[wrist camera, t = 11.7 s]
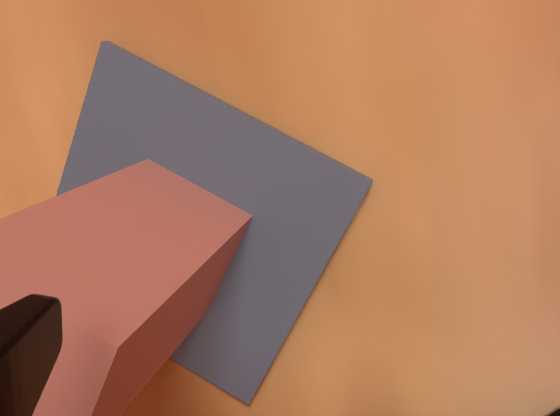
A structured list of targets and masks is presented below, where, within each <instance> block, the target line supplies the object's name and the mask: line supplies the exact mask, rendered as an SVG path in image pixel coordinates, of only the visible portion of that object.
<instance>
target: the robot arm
mask: <svg viewBox="0 0 560 416" xmlns="http://www.w3.org/2000/svg"><path fill="white" fill-rule="evenodd" d="M62 341H63V334H62V307H61V302H60V300H59V299H58V298H56V297H52V296H47V295H41V294H30V295H28V296H25V297H23V298H21V299H19V300H18V301H16V302H14V303H12V304H10V305H8V306H6V307H4V308H2V309H0V416H32V415H33V413H34V410H35V408H36V406H37V403H38V401H39V399H40V397H41V394H42V392H43V390H44V388H45V385H46V383H47V381H48V379H49V376H50V374H51V372H52V370H53V367H54V365H55V363H56V360H57V358H58V356H59V353H60V350H61V347H62ZM550 416H560V409H559V410H558V411H556V412H555V413H553V414H552V415H550Z"/></svg>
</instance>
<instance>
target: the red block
mask: <svg viewBox="0 0 560 416" xmlns="http://www.w3.org/2000/svg"><path fill="white" fill-rule="evenodd" d="M252 216H253V215H251V214H249V213H247V212H245V211H243V210H242V209H240V208H238V207H236V206H234V205H232V204H230V203H229V202H227V201H225V200H223V199H221V198H219V197H218V196H216V195H214V194H212V193H210V192H208V191H206V190H205V189H203V188H201V187H199V186H197V185H195V184H194V183H192V182H190V181H188V180H186V179H184V178H183V177H181V176H179V175H177V174H175V173H173V172H171V171H170V170H168V169H166V168H164V167H162V166H160V165H159V164H157V163H155V162H153V161H151V160H149V159H146V160H143V161H141V162H139V163H136V164H134V165H131V166H129V167H126V168H124V169H122V170H119V171H117V172H114V173H112V174H109V175H107V176H104V177H102V178H100V179H97V180H95V181H92V182H90V183H87V184H85V185H83V186H80V187H78V188H75V189H73V190H70V191H68V192H65V193H63V194H61V195H58V196H56V197H53V198H51V199H48V200H46V201H44V202H41V203H39V204H36V205H34V206H31V207H29V208H26V209H24V210H22V211H19V212H17V213H14V214H12V215H9V216H7V217H4V218H2V219H0V309H2V308H4V307H6V306H8V305H10V304H12V303H14V302H16V301H18V300H19V299H21V298H23V297H25V296H28V295H30V294H41V295H47V296H52V297H56V298H58V299H59V300H60V302H61V307H62V334H63V341H62V347H61V350H60V353H59V356H58V358H57V360H56V363H55V365H54V367H53V370H52V372H51V374H50V376H49V379H48V381H47V383H46V385H45V388H44V390H43V392H42V394H41V397H40V399H39V401H38V403H37V406H36V408H35V410H34V413H33V415H32V416H122V414H123V413H124V412H125V411H126V410H127V408H128V407H129V406H130V405H131V403H132V402H133V401H134V400H135V399H136V397H137V396H138V395H139V394H140V393H141V391H142V390H143V389H144V388H145V386H146V385H147V384H148V383H149V382H150V380H151V379H152V378H153V377H154V376H155V374H156V373H157V372H158V371H159V370H160V368H161V367H162V366H163V365H164V363H165V362H166V361H167V360H168V359H169V357H170V356H171V355H172V354H173V353H174V351H175V350H176V349H177V348H178V346H179V345H180V344H181V343H182V342H183V340H184V339H185V338H186V337H187V336H188V334H189V333H190V332H191V331H192V330H193V328H194V327H195V326H196V325H197V323H198V322H199V321H200V320H201V319H202V317H203V316H204V315H205V314H206V313H207V311H208V310H209V309H210V306H211V304H212V302H213V300H214V298H215V296H216V294H217V291H218V289H219V287H220V285H221V283H222V281H223V278H224V276H225V274H226V272H227V270H228V268H229V266H230V263H231V261H232V259H233V257H234V255H235V253H236V251H237V248H238V246H239V244H240V242H241V240H242V238H243V236H244V233H245V231H246V229H247V227H248V225H249V223H250V220H251V218H252Z"/></svg>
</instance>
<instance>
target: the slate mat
mask: <svg viewBox="0 0 560 416" xmlns="http://www.w3.org/2000/svg"><path fill="white" fill-rule="evenodd" d="M146 159H149V160H151V161H153V162H155V163H157V164H159V165H160V166H162V167H164V168H166V169H168V170H170V171H171V172H173V173H175V174H177V175H179V176H181V177H183V178H184V179H186V180H188V181H190V182H192V183H194V184H195V185H197V186H199V187H201V188H203V189H205V190H206V191H208V192H210V193H212V194H214V195H216V196H218V197H219V198H221V199H223V200H225V201H227V202H229V203H230V204H232V205H234V206H236V207H238V208H240V209H242V210H243V211H245V212H247V213H249V214H251V215H253V216H252V218H251V220H250V223H249V225H248V227H247V229H246V231H245V233H244V236H243V238H242V240H241V242H240V244H239V246H238V248H237V251H236V253H235V255H234V257H233V259H232V261H231V263H230V266H229V268H228V270H227V272H226V274H225V276H224V278H223V281H222V283H221V285H220V287H219V289H218V291H217V294H216V296H215V298H214V300H213V302H212V304H211V306H210V309H209V310H208V311H207V313H206V314H205V315H204V316H203V317H202V319H201V320H200V321H199V322H198V323H197V325H196V326H195V327H194V328H193V330H192V331H191V332H190V333H189V334H188V336H187V337H186V338H185V339H184V340H183V342H182V343H181V344H180V345H179V346H178V348H177V349H176V350H175V351H174V353H173V354H172V355H171V356H170V357H169V359H171V360H173V361H175V362H176V363H178V364H180V365H181V366H183V367H185V368H186V369H188V370H190V371H192V372H193V373H195V374H197V375H198V376H200V377H202V378H203V379H205V380H207V381H209V382H210V383H212V384H214V385H215V386H217V387H219V388H220V389H222V390H224V391H226V392H227V393H229V394H231V395H232V396H234V397H236V398H237V399H239V400H241V401H243V402H244V403H246V404H248V405H249V403H250V401H251V399H252V397H253V396H254V394H255V392H256V390H257V388H258V387H259V385H260V383H261V381H262V379H263V378H264V376H265V374H266V372H267V370H268V369H269V367H270V365H271V363H272V361H273V360H274V358H275V356H276V354H277V352H278V351H279V349H280V347H281V345H282V343H283V342H284V340H285V338H286V336H287V335H288V333H289V331H290V329H291V327H292V326H293V324H294V322H295V320H296V318H297V317H298V315H299V313H300V311H301V309H302V308H303V306H304V304H305V302H306V300H307V299H308V297H309V295H310V293H311V291H312V290H313V288H314V286H315V284H316V282H317V281H318V279H319V277H320V275H321V273H322V272H323V270H324V268H325V266H326V265H327V263H328V261H329V259H330V257H331V256H332V254H333V252H334V250H335V248H336V247H337V245H338V243H339V241H340V239H341V238H342V236H343V234H344V232H345V230H346V229H347V227H348V225H349V223H350V221H351V220H352V218H353V216H354V214H355V212H356V211H357V209H358V207H359V205H360V203H361V202H362V200H363V198H364V196H365V194H366V193H367V191H368V189H369V187H370V186H371V184H372V181H373V180H372V179H370V178H368V177H366V176H365V175H363V174H361V173H359V172H357V171H355V170H353V169H351V168H349V167H347V166H346V165H344V164H342V163H340V162H338V161H336V160H334V159H332V158H330V157H328V156H326V155H325V154H323V153H321V152H319V151H317V150H315V149H313V148H311V147H309V146H307V145H305V144H304V143H302V142H300V141H298V140H296V139H294V138H292V137H290V136H288V135H286V134H284V133H283V132H281V131H279V130H277V129H275V128H273V127H271V126H269V125H267V124H265V123H264V122H262V121H260V120H258V119H256V118H254V117H252V116H250V115H248V114H246V113H244V112H243V111H241V110H239V109H237V108H235V107H233V106H231V105H229V104H227V103H225V102H223V101H222V100H220V99H218V98H216V97H214V96H212V95H210V94H208V93H206V92H204V91H202V90H201V89H199V88H197V87H195V86H193V85H191V84H189V83H187V82H185V81H183V80H181V79H180V78H178V77H176V76H174V75H172V74H170V73H168V72H166V71H164V70H162V69H161V68H159V67H157V66H155V65H153V64H151V63H149V62H147V61H145V60H143V59H141V58H140V57H138V56H136V55H134V54H132V53H130V52H128V51H126V50H124V49H122V48H120V47H119V46H117V45H115V44H113V43H111V42H109V41H102V42H101V45H100V48H99V52H98V55H97V59H96V62H95V65H94V69H93V72H92V76H91V79H90V83H89V86H88V89H87V93H86V96H85V100H84V103H83V106H82V110H81V113H80V117H79V120H78V123H77V127H76V130H75V134H74V137H73V141H72V144H71V147H70V151H69V154H68V158H67V161H66V164H65V168H64V171H63V175H62V178H61V182H60V185H59V188H58V192H57V195H56V196H58V195H61V194H63V193H65V192H68V191H70V190H73V189H75V188H78V187H80V186H83V185H85V184H87V183H90V182H92V181H95V180H97V179H100V178H102V177H104V176H107V175H109V174H112V173H114V172H117V171H119V170H122V169H124V168H126V167H129V166H131V165H134V164H136V163H139V162H141V161H143V160H146Z"/></svg>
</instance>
